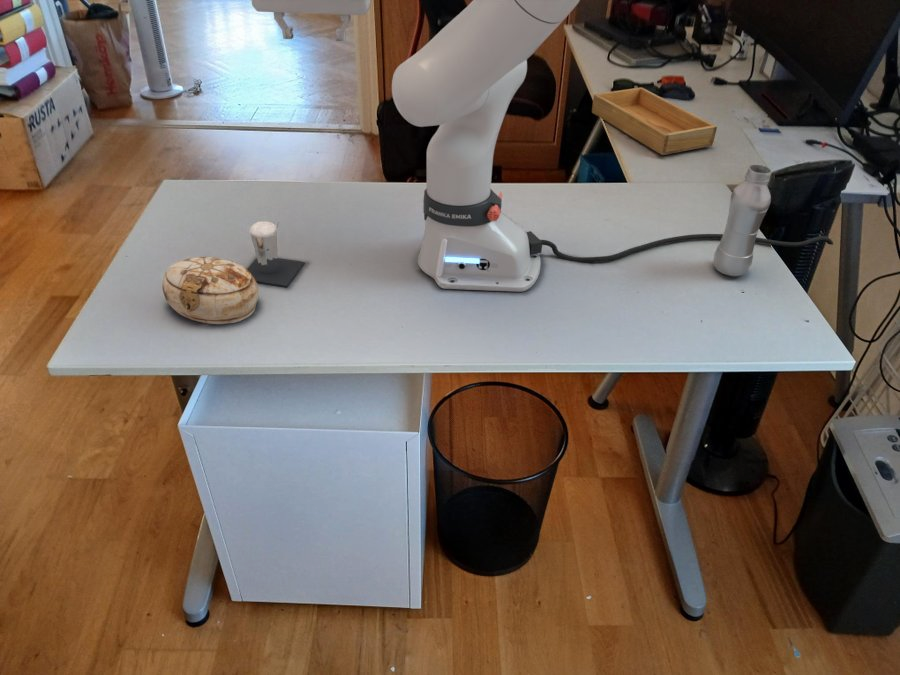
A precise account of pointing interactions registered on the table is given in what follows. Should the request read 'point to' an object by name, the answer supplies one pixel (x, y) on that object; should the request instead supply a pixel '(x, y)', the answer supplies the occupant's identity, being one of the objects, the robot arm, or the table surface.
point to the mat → (279, 278)
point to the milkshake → (265, 246)
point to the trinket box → (210, 290)
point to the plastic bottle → (743, 222)
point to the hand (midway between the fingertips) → (314, 39)
